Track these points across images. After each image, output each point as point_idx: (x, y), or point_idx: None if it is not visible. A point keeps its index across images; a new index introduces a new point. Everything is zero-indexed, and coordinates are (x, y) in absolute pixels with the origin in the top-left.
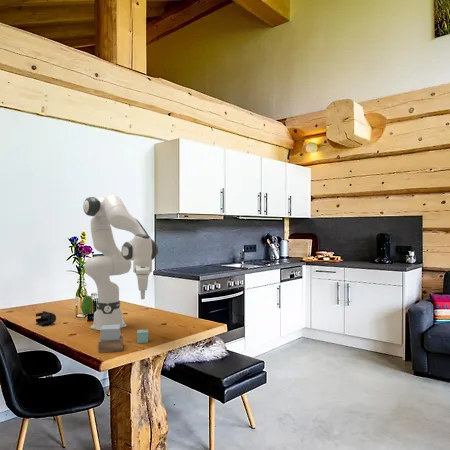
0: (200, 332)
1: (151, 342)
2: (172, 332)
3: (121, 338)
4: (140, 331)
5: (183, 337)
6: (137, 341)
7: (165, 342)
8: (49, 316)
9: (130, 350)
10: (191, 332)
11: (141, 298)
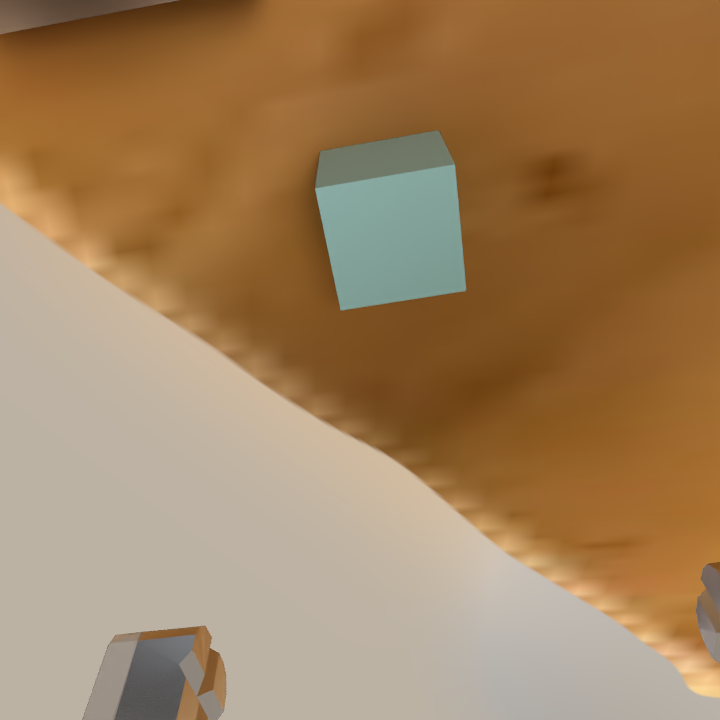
0: (597, 598)
1: None
2: (660, 426)
3: (34, 13)
4: (372, 219)
5: (476, 510)
6: (320, 158)
7: (338, 403)
8: None
9: (51, 126)
10: (615, 550)
11: (114, 657)
